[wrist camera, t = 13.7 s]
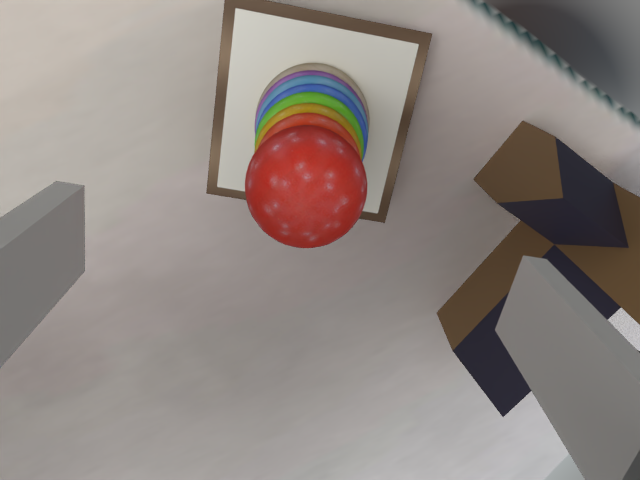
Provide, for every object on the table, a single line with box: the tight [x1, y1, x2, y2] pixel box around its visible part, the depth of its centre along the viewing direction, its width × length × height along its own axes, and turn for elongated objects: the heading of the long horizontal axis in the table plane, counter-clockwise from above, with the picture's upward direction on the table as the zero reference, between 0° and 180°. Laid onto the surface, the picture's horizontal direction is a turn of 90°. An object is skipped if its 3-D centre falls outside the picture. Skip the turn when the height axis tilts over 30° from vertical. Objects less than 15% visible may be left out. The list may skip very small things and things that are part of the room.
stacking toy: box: [245, 63, 370, 248], centre depth 27 cm, size 8×8×19 cm
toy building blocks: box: [437, 121, 640, 417], centre depth 36 cm, size 12×19×25 cm, turn 145°
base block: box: [206, 0, 432, 223], centre depth 39 cm, size 14×14×6 cm
